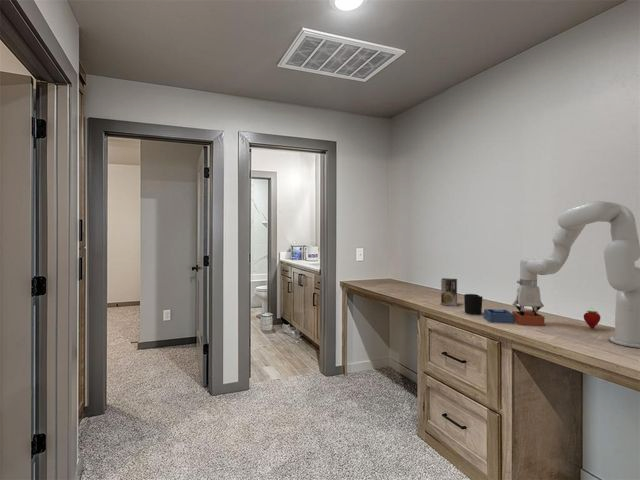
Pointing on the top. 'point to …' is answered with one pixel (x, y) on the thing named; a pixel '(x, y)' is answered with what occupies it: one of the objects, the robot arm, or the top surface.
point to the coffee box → (449, 291)
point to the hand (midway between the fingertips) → (527, 319)
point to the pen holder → (473, 304)
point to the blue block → (499, 311)
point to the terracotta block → (528, 313)
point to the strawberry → (592, 318)
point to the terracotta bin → (528, 319)
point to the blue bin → (498, 316)
